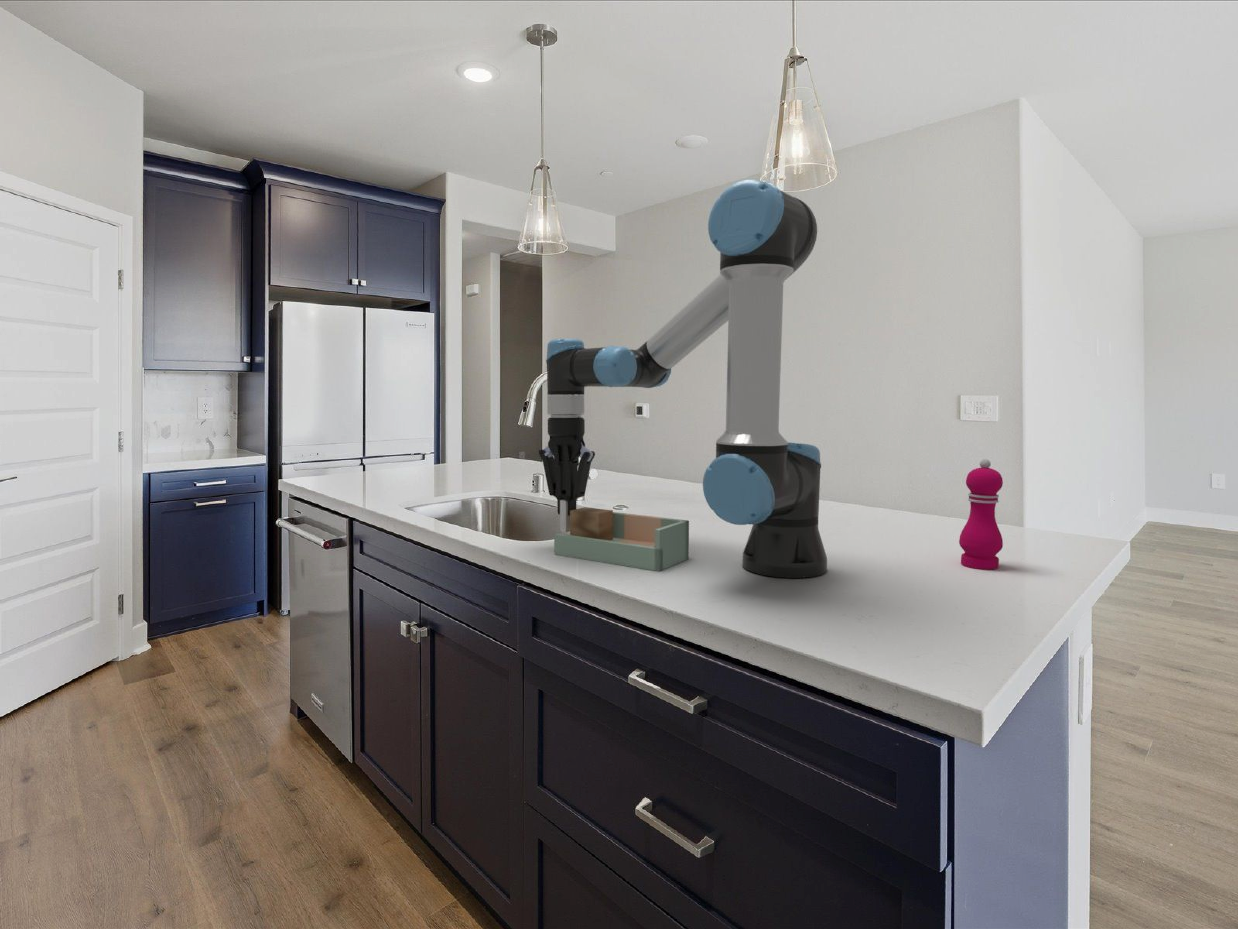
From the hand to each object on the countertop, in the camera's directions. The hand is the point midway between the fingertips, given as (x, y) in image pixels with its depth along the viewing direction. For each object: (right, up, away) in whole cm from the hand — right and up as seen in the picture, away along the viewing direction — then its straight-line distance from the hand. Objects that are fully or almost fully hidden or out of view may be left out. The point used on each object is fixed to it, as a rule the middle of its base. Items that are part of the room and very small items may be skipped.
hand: (567, 530), depth 141 cm
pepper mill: (+78, -5, -13) cm, 80 cm away
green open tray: (+11, -4, -7) cm, 14 cm away
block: (+5, -2, -3) cm, 6 cm away
